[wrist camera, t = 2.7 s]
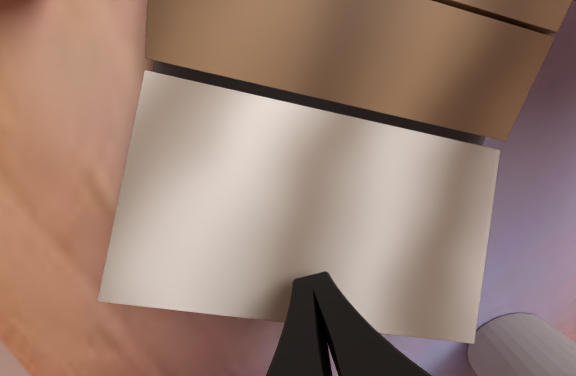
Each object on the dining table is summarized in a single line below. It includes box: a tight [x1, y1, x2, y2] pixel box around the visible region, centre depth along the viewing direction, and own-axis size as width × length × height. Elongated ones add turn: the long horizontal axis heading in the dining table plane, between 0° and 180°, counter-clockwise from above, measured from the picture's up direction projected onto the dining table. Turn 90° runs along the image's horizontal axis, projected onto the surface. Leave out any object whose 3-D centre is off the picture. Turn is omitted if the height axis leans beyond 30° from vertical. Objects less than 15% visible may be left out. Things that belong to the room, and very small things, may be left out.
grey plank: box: [98, 70, 500, 344], centre depth 13 cm, size 16×9×2 cm, turn 78°
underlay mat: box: [154, 60, 485, 146], centre depth 13 cm, size 16×21×1 cm
